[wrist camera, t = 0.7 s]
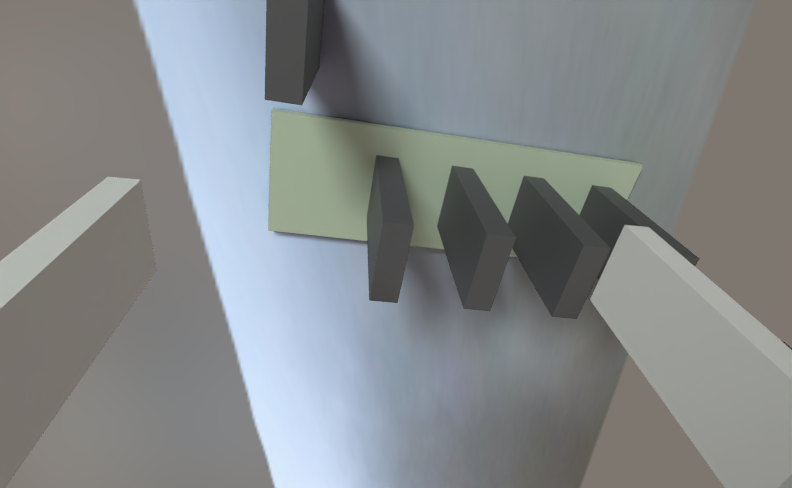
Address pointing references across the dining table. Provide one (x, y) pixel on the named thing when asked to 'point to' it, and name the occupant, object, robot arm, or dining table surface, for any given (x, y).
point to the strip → (408, 174)
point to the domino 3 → (474, 238)
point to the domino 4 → (555, 247)
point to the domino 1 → (292, 48)
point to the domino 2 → (387, 230)
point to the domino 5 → (621, 220)
